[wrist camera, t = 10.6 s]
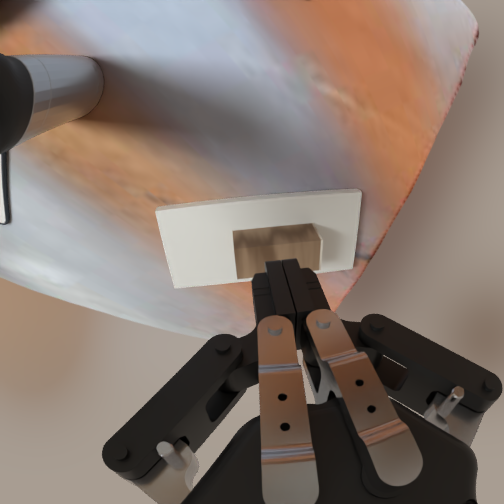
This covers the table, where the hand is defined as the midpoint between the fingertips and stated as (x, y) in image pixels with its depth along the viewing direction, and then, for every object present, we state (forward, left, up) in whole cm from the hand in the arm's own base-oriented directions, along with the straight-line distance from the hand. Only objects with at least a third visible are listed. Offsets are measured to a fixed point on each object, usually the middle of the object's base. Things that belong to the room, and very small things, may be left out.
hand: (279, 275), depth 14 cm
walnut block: (-2, -15, -25) cm, 29 cm away
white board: (+2, -15, -29) cm, 33 cm away
